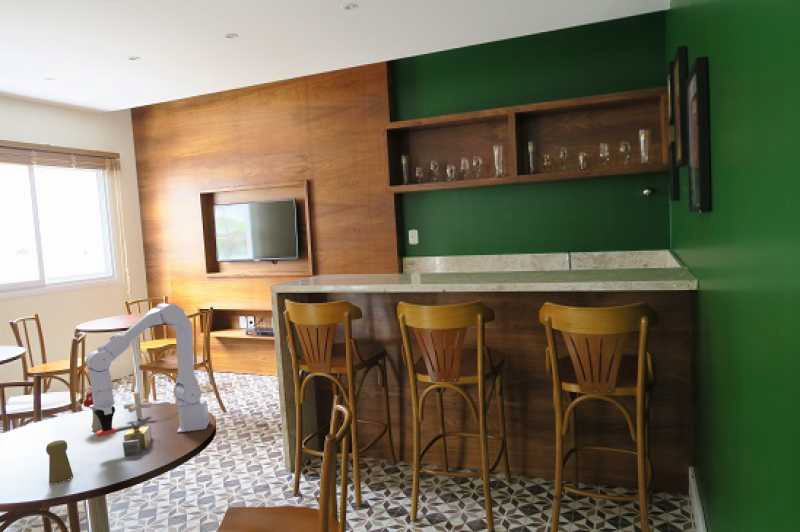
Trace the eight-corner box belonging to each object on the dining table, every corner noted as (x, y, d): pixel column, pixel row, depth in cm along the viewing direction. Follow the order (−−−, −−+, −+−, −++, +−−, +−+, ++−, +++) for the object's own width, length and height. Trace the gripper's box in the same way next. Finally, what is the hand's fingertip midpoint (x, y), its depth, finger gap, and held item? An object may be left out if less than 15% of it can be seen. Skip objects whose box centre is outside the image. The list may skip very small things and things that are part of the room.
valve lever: (140, 425, 184) (139, 421, 184) (141, 427, 182) (140, 423, 182) (97, 435, 178) (96, 431, 178) (97, 437, 176) (97, 433, 176)
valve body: (154, 437, 190) (152, 419, 190) (142, 454, 176) (139, 434, 176) (135, 440, 189) (133, 421, 189) (121, 456, 176) (119, 437, 175)
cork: (55, 475, 165) (50, 439, 165) (77, 473, 166) (72, 436, 165) (44, 485, 159) (39, 447, 159) (67, 482, 160) (61, 444, 159)
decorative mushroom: (112, 429, 202) (107, 388, 200) (85, 435, 198) (79, 393, 197) (114, 421, 211) (109, 381, 209) (88, 426, 207) (83, 386, 206)
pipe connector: (159, 413, 216) (156, 387, 215) (145, 423, 206) (141, 396, 205) (134, 414, 217) (131, 389, 216) (119, 424, 207) (115, 397, 206)
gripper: (84, 387, 182) (89, 429, 183) (91, 397, 170) (97, 441, 171) (108, 382, 186) (114, 422, 187) (116, 391, 174) (122, 434, 175)
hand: (107, 431), depth 179 cm, fingers closed, pressing on valve lever
